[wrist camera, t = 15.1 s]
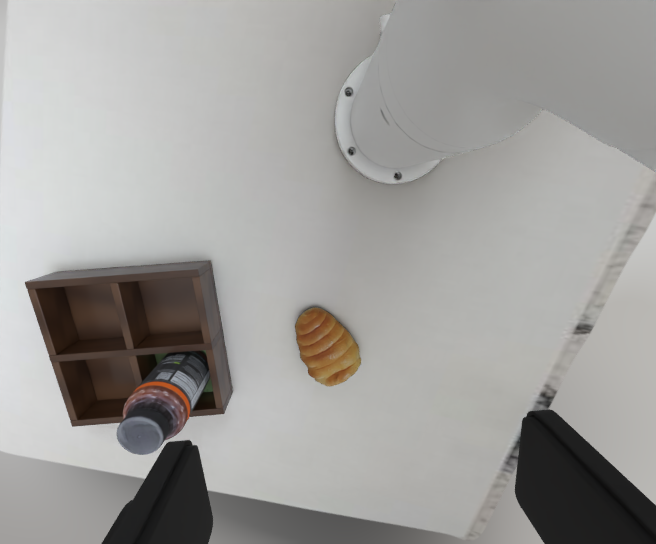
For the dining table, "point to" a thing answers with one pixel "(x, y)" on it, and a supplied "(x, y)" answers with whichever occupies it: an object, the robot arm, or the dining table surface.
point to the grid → (128, 333)
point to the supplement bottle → (163, 401)
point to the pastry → (326, 347)
